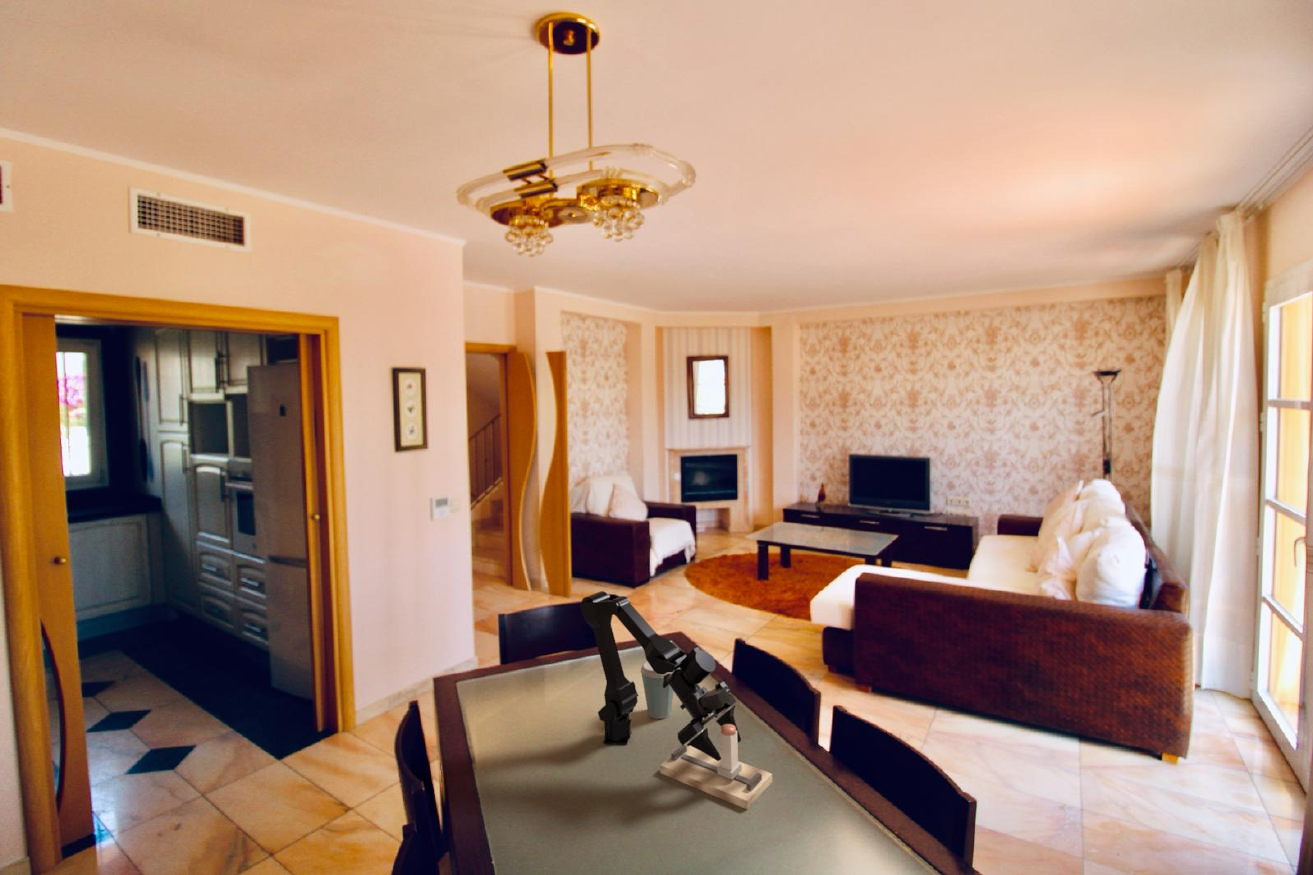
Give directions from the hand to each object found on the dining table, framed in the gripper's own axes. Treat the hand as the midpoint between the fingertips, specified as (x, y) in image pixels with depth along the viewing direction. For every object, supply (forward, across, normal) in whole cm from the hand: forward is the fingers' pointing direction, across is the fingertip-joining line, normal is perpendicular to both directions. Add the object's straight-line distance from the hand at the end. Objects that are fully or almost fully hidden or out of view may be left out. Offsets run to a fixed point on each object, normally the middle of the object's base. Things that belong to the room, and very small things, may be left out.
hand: (730, 750), depth 145 cm
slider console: (+3, 0, +9) cm, 9 cm away
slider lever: (+4, 0, +4) cm, 5 cm away
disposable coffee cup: (-18, +17, +30) cm, 39 cm away
